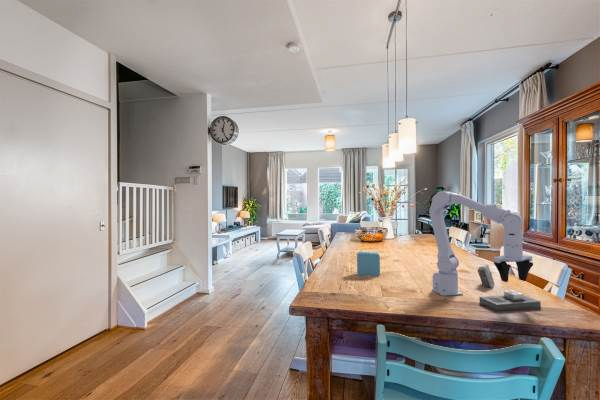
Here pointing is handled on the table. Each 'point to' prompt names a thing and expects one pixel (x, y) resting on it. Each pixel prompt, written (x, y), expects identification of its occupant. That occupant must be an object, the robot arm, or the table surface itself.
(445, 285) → the robot arm
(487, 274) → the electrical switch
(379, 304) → the table surface
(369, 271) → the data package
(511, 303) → the dark grey flat block
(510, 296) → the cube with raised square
